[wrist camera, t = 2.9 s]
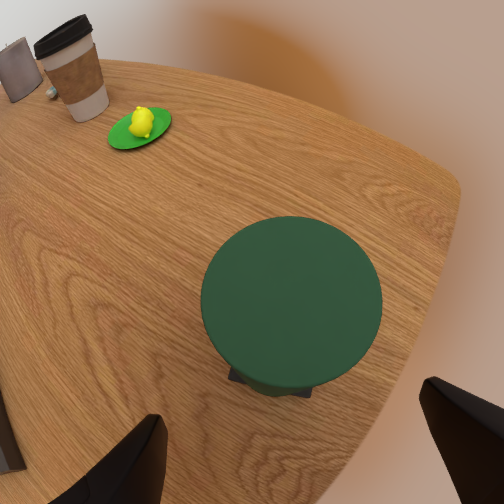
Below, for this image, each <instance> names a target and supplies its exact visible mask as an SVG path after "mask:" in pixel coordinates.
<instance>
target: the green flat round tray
mask: <svg viewBox="0 0 504 504" xmlns="http://www.w3.org/2000/svg"><path fill="white" fill-rule="evenodd" d="M170 122H171V115H170V113H169V112H168V111H167V110H165V109H162V108H156V107H154V108H144V107H140V106H138V107H137V108H136V110H135V111H134V112H133V113H131V114H128V115H127V116H125V117H123V118H122V119H121V120H119V121H118V122H117V123H116V124H115V125H114V126H113V128H112V129H111V131H110V133H109V136H108V141H109V144H110V145H111V146H113V147H115V148H118V149H130V148H135V147H138V146H141V145H144V144H146V143H148V142H150V141H152V140H154V139H155V138H157V137H158V136H160V135H161V134H162V133H163V132H164V131H165V130H166V129H167V128H168V126H169V124H170Z"/></svg>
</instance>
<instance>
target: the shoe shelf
mask: <svg viewBox="0 0 504 504" xmlns="http://www.w3.org/2000/svg"><path fill="white" fill-rule="evenodd" d="M25 469H26V466H25V464H24V462H23V459H22V457H21V454H20V452H19V449H18V447H17V444H16V441H15V438H14V436H13V433H12V430H11V427H10V424H9V421H8V417H7V414H6V411H5V407H4V404H3V400H2V396H1V392H0V475H1V474H5V473H10V472H17V471H21V470H25Z"/></svg>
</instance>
